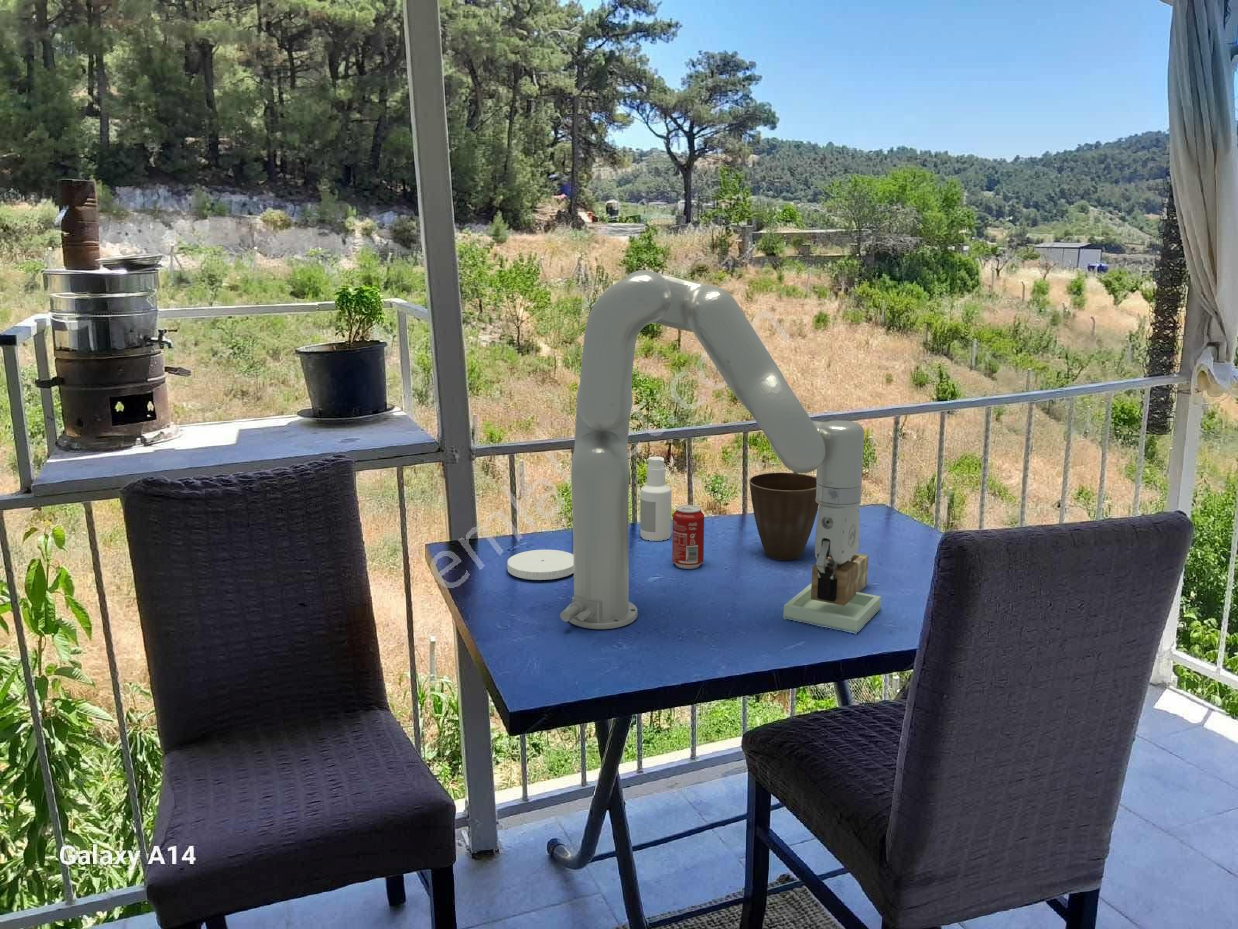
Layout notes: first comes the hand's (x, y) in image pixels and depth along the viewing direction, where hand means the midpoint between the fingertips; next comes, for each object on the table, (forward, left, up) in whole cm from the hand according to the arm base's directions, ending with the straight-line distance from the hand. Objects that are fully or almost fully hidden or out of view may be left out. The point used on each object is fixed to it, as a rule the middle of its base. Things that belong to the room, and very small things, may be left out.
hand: (833, 592), depth 165 cm
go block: (+14, +3, -4) cm, 15 cm away
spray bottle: (+23, +49, -4) cm, 54 cm away
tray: (0, 0, -4) cm, 4 cm away
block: (0, 0, -1) cm, 1 cm away
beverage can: (+10, +34, -4) cm, 36 cm away
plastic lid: (-8, +57, -5) cm, 58 cm away
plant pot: (+26, +20, -4) cm, 33 cm away
